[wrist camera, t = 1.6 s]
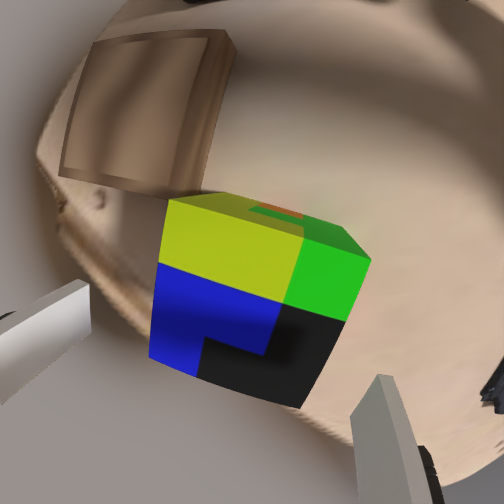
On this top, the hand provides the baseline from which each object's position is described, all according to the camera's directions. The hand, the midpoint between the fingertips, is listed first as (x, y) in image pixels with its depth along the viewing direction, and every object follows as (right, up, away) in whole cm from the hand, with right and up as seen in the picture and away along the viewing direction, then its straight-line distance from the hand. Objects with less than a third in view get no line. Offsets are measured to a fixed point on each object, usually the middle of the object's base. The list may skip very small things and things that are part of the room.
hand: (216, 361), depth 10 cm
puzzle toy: (+3, +3, +13) cm, 14 cm away
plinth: (-8, +17, +11) cm, 22 cm away
